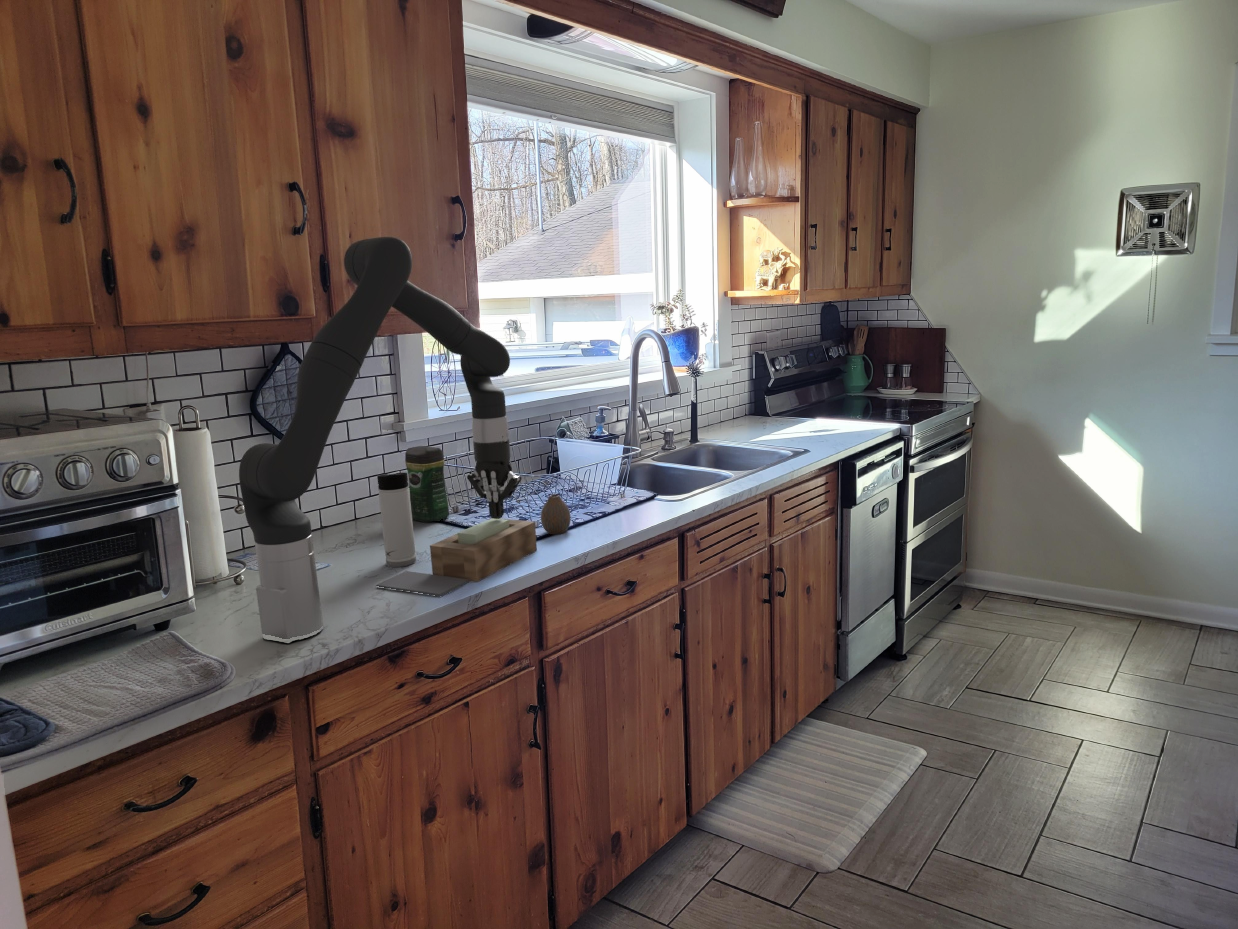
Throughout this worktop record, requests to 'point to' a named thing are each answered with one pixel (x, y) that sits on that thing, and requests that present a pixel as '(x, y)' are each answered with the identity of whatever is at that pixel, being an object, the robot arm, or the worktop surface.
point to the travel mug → (396, 519)
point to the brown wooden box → (483, 552)
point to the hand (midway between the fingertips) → (497, 517)
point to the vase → (555, 515)
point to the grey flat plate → (423, 583)
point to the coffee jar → (426, 483)
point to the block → (482, 531)
